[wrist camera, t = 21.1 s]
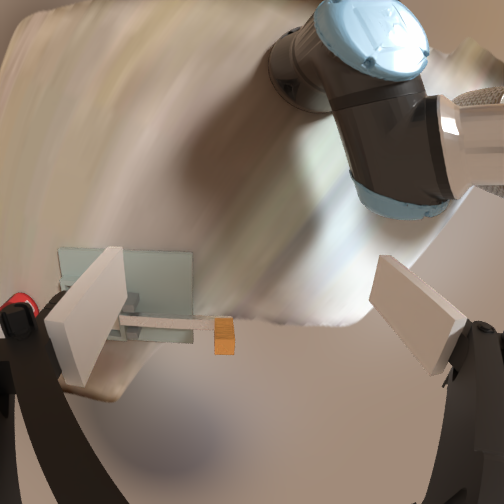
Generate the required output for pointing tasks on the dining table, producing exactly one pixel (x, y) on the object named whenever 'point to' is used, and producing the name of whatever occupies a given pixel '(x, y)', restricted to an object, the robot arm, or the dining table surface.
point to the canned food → (19, 298)
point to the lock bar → (188, 326)
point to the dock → (142, 288)
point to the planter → (481, 98)
